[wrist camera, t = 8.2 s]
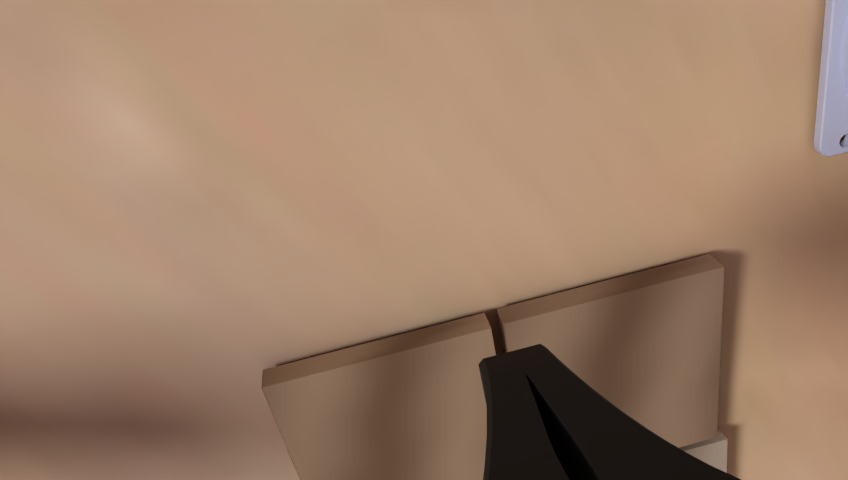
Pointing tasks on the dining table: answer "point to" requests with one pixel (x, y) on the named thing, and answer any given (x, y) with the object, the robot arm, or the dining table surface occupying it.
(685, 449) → the grey slab
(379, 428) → the plank
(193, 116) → the dining table surface
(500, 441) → the robot arm
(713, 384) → the plank
